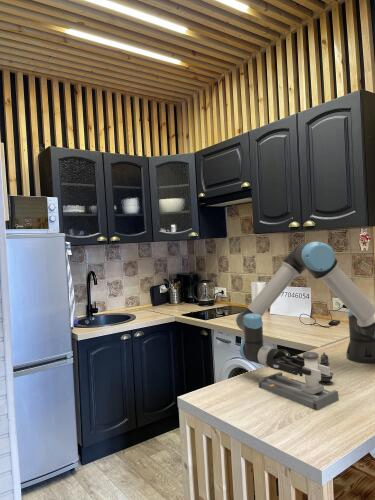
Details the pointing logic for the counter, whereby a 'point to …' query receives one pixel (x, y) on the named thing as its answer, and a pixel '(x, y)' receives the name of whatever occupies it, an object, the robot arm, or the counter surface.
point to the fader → (310, 382)
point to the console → (297, 391)
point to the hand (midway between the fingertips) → (324, 373)
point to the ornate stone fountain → (324, 378)
